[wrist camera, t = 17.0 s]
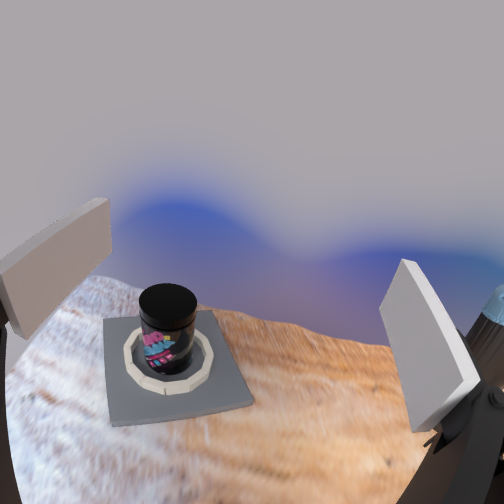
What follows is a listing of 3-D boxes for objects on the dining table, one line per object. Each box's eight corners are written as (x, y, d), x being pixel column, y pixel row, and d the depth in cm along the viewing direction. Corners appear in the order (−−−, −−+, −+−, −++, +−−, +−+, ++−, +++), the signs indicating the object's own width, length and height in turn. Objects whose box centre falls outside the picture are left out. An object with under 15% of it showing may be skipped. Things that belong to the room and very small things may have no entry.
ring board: (210, 316, 48) (212, 303, 46) (251, 405, 34) (255, 393, 32) (104, 325, 40) (101, 311, 39) (112, 426, 26) (107, 415, 25)
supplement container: (142, 341, 38) (137, 283, 33) (187, 339, 40) (191, 282, 35) (146, 379, 32) (139, 322, 27) (197, 375, 35) (202, 319, 30)
